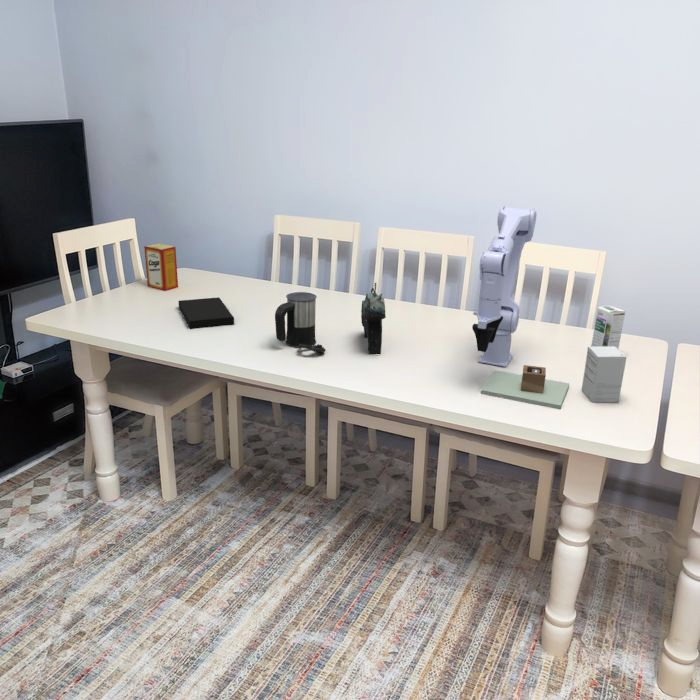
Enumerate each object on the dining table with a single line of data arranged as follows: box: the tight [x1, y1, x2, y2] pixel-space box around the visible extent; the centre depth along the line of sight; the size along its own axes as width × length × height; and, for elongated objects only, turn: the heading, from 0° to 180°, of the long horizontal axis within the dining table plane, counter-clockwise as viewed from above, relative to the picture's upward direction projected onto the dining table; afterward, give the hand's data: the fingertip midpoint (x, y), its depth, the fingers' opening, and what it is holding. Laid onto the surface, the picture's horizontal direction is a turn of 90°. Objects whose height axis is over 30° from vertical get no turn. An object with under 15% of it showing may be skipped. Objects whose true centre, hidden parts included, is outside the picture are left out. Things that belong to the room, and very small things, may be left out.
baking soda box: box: [144, 242, 179, 292], centre depth 258 cm, size 10×6×16 cm
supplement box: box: [581, 345, 627, 403], centre depth 175 cm, size 7×7×13 cm
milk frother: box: [274, 291, 326, 354], centre depth 203 cm, size 14×16×15 cm
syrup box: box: [591, 305, 626, 350], centre depth 203 cm, size 6×6×14 cm
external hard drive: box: [178, 297, 235, 330], centre depth 230 cm, size 14×23×3 cm, turn 22°
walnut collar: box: [521, 364, 547, 394], centre depth 178 cm, size 6×6×5 cm
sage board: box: [480, 369, 570, 410], centre depth 180 cm, size 15×20×1 cm
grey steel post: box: [532, 369, 540, 373], centre depth 178 cm, size 2×2×5 cm
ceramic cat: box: [360, 282, 387, 355], centre depth 205 cm, size 20×6×20 cm, turn 4°
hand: (485, 346), depth 183 cm, fingers open, 7 cm apart
